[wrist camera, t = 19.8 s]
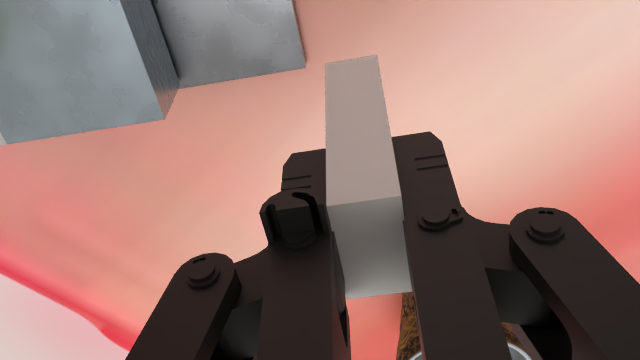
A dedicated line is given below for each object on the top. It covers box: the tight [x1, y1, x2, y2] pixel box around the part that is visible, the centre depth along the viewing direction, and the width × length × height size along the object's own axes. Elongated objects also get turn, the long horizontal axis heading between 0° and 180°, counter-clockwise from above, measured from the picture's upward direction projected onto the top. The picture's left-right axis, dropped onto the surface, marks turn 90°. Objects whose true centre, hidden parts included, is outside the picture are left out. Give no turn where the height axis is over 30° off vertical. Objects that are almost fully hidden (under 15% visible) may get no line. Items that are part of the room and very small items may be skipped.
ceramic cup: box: [396, 292, 532, 360], centre depth 47 cm, size 13×10×10 cm
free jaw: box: [0, 0, 180, 145], centre depth 34 cm, size 14×10×4 cm
